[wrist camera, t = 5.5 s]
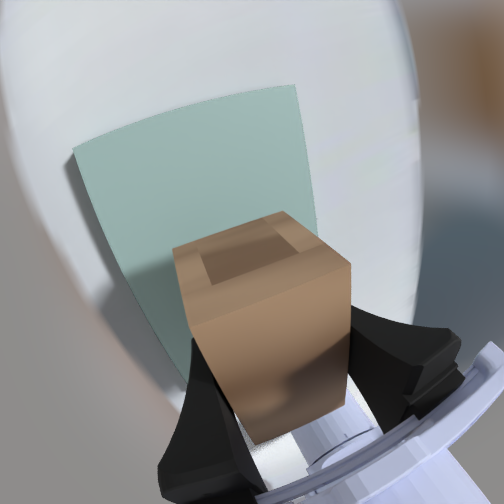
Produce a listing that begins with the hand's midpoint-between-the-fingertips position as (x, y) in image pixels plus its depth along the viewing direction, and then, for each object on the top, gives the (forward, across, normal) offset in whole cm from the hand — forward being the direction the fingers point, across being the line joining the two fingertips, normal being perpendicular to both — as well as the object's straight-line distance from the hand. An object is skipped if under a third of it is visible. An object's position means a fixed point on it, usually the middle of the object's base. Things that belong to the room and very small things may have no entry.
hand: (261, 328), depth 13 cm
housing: (+2, 0, 0) cm, 2 cm away
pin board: (+6, 0, 0) cm, 6 cm away
